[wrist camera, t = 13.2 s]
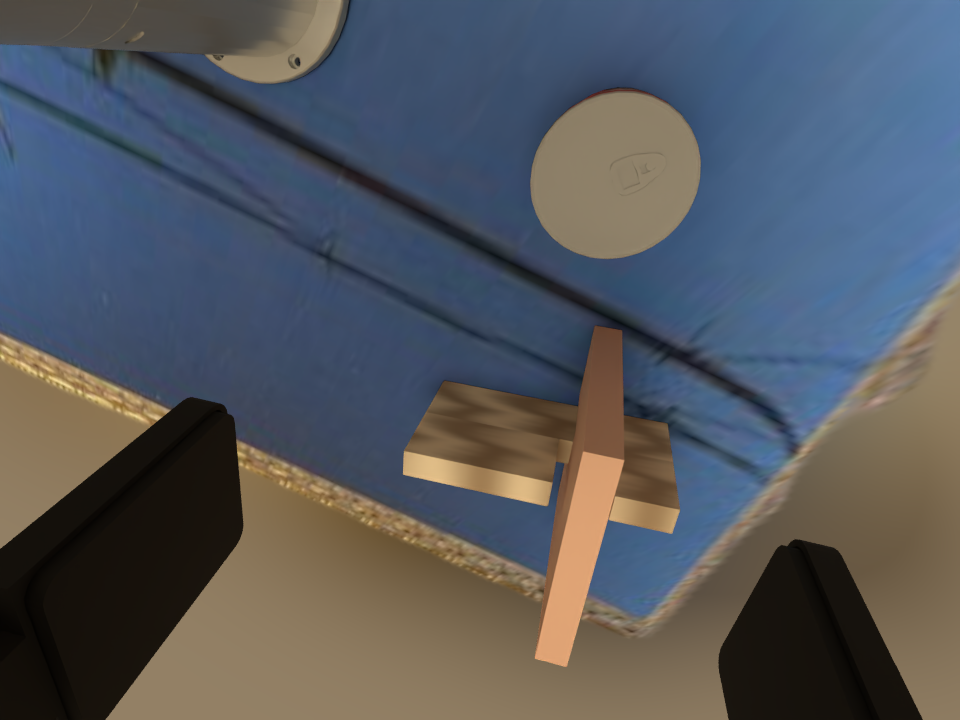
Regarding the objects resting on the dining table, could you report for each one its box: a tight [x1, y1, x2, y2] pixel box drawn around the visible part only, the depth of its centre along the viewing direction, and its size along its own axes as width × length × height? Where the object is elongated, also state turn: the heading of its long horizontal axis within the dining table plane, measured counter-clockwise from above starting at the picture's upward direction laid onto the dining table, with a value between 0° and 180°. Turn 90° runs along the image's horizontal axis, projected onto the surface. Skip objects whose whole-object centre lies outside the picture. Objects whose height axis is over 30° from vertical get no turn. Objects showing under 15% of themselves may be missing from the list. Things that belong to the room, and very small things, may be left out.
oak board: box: [403, 381, 680, 534], centre depth 41 cm, size 18×2×10 cm, turn 84°
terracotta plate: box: [535, 326, 624, 667], centre depth 38 cm, size 2×16×16 cm, turn 174°
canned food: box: [530, 87, 701, 259], centre depth 31 cm, size 8×8×11 cm
